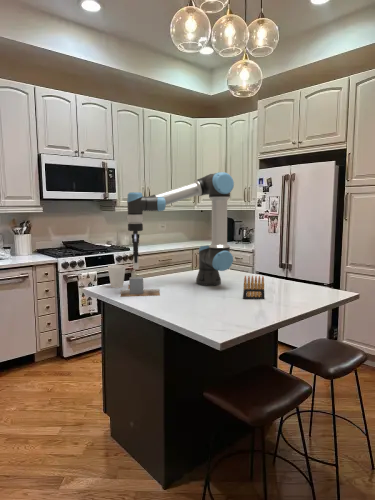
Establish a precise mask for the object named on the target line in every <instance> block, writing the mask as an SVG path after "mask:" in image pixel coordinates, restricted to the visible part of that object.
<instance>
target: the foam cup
mask: <svg viewBox="0 0 375 500" xmlns="http://www.w3.org/2000/svg"><path fill="white" fill-rule="evenodd" d="M107 271H108V276H109V281H110V282H109V283H110V287H111V288H113V289H119V288H123V287H124V283H125V282H124V281H125V274H126V273H125V272H126V265H124V264H112V265H108V266H107Z"/></svg>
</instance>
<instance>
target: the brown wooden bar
mask: <svg viewBox="0 0 375 500" xmlns="http://www.w3.org/2000/svg"><path fill="white" fill-rule="evenodd" d="M143 293H160V294H161V291H160V288H155V289H154V288H153V289H152V288H151V289H150V288H149V289H148V288H147V289H143ZM121 294H130V289H125V290H124V289H120V295H121Z"/></svg>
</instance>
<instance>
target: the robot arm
mask: <svg viewBox="0 0 375 500" xmlns="http://www.w3.org/2000/svg"><path fill="white" fill-rule="evenodd" d="M234 185H235V182H234V179H233V177H232V175H230V173H227V172H224V171H220V172H219V171H218V172H215V173H210V174H206V175H204V176H203V177H200V178H198V179H194V181H193V182H191V183H187V184H184V185H181V186H177V187H174V188H171V189H168V190H164V191H161V192H157V193H155V194H152V195H148V196H144V195H143V193H142V192H137V191H136V192H128V193H127V201H126V202H127V216H126V219H127V222H128V223H127V230H128V232H132V234H131V243H132V244H133V245H132V248H133V249H132V252H133V253H132V255H131V257H132V259H133V260H132V263H133V264H132V267H133V270H139V268H140V267H139V265H140V264H139V263H140V262H139V257H140V253H139V242H140V234H139V233H138V232H143V230H144V227H143V225H144V224H143V222H144V220H143V219H144V218H143V216H144V215H143V212H164V211H165V210H166V207H167V206H168V205H170V204H175V203H178V202H180V201H184V200H186V199H190V198H192V197H196V196H198V197H201V196H207V195H208V198H209V199H210V200H211V244H210V245H200V246H199V249H198V272H197V275H196V279H195V284H196V285H199V286H205V287H207V286H213V287H214V286H219V285H221V284H222V279H221V275H220V272H225V271H228V270H229V269H230V268H231V267H232V264H233V262H234V256H233V254H232V252H230V251H231V249H230V248H231V247H230V245H229V244H228V200H229V199H230V198H231V192H232V190H233V189H234ZM219 271H220V272H219Z"/></svg>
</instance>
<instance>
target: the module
mask: <svg viewBox="0 0 375 500" xmlns="http://www.w3.org/2000/svg"><path fill="white" fill-rule="evenodd" d="M128 281H129V284H128V286H127V287H128V288H127V290H130V294H143V290H144V277H143V276H132V277H131V276H130V277H129V280H128Z"/></svg>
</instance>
